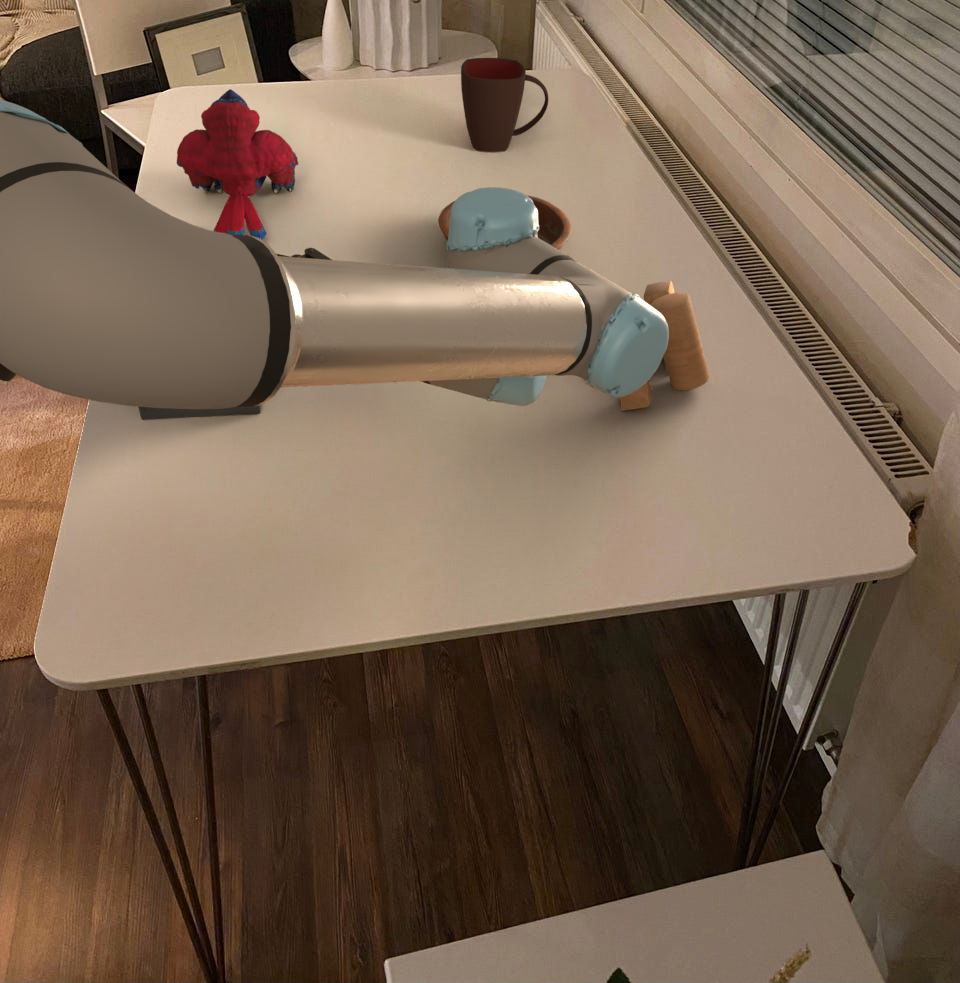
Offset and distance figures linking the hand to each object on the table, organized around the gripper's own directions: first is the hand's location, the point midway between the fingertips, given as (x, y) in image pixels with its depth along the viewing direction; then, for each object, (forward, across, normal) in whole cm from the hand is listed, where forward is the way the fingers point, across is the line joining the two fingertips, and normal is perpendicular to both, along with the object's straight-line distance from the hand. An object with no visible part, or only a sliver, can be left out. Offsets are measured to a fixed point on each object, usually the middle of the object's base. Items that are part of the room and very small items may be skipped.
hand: (197, 288), depth 98 cm
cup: (-8, +74, -12) cm, 76 cm away
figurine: (+18, +37, -12) cm, 42 cm away
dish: (-20, +40, -12) cm, 47 cm away
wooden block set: (-45, +22, -12) cm, 52 cm away
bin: (+1, 0, -12) cm, 12 cm away
